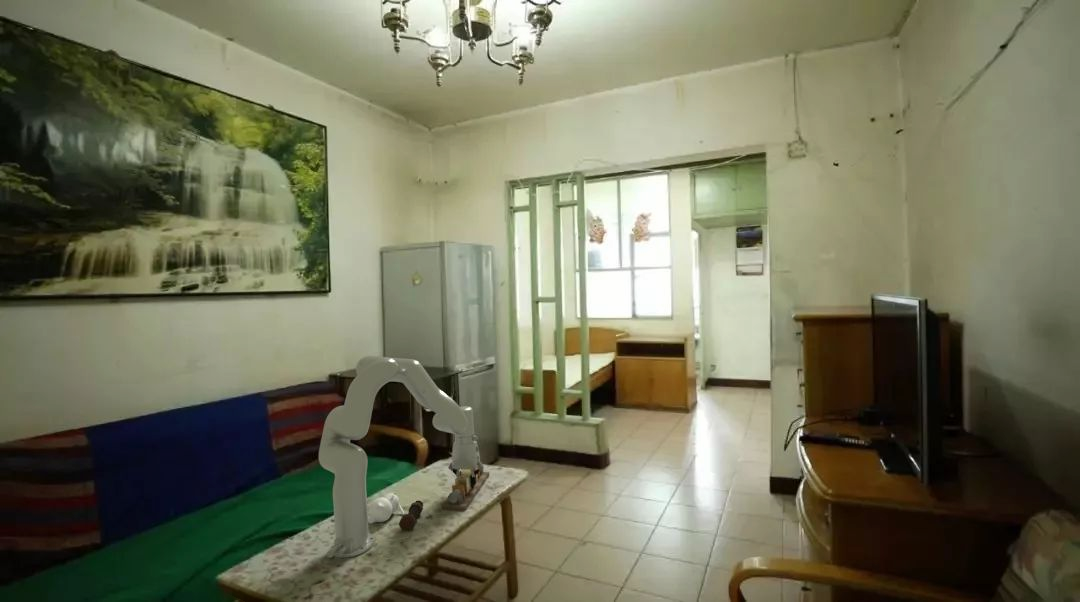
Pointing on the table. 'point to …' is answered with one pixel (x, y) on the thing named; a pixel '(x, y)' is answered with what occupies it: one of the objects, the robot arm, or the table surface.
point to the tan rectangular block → (465, 480)
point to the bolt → (411, 516)
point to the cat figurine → (384, 508)
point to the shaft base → (458, 496)
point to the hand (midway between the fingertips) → (467, 485)
